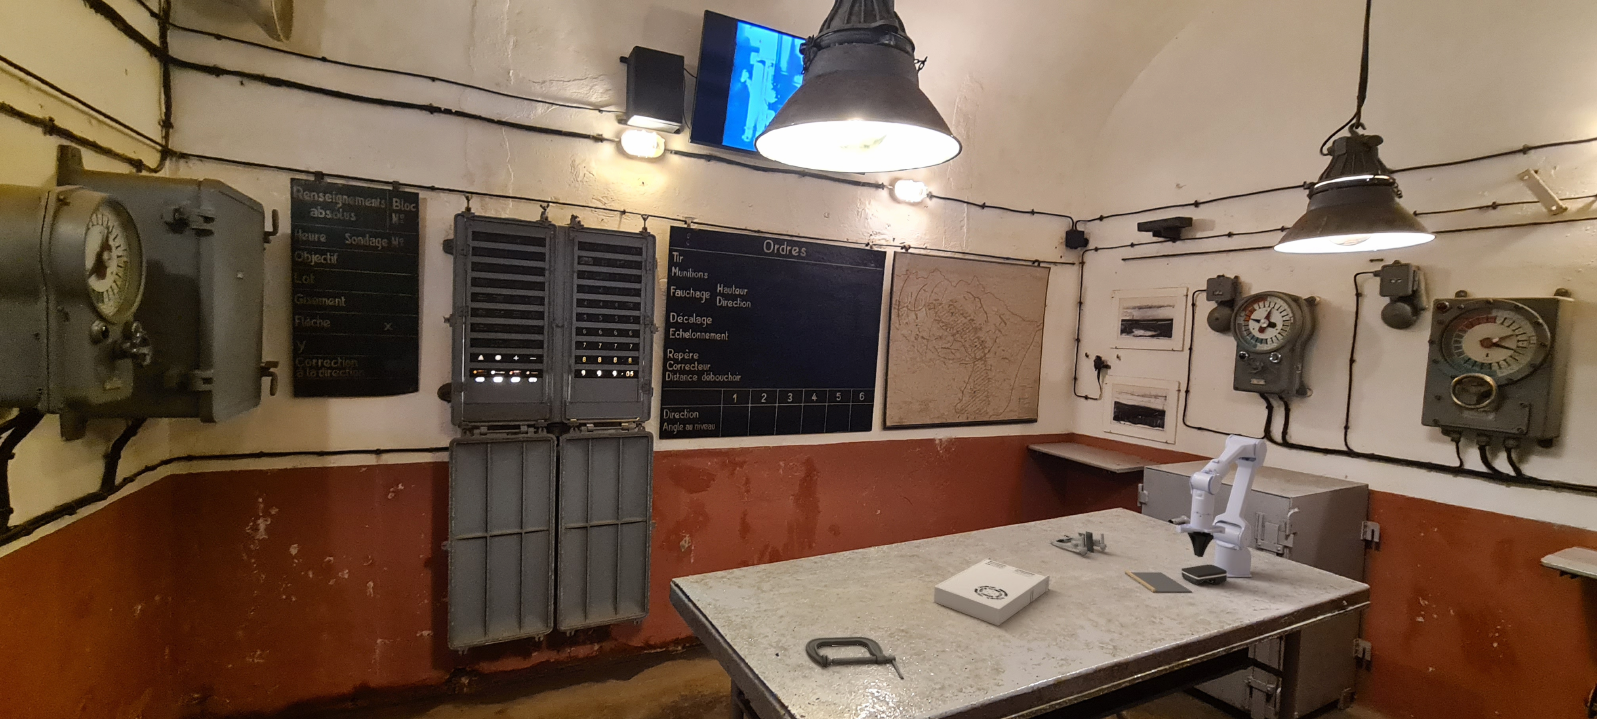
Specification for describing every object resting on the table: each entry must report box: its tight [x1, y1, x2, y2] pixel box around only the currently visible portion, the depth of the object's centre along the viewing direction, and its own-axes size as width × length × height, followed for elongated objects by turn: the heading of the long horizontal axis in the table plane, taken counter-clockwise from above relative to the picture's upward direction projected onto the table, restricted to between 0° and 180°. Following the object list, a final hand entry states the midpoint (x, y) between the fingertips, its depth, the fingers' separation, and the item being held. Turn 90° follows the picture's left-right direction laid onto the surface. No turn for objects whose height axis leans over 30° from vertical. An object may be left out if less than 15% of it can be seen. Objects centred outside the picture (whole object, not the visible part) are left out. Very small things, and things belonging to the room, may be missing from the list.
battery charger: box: [1180, 564, 1228, 585], centre depth 200 cm, size 7×4×11 cm
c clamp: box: [805, 636, 905, 680], centre depth 147 cm, size 20×17×3 cm
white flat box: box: [933, 557, 1051, 626], centre depth 184 cm, size 19×33×5 cm, turn 137°
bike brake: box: [1048, 531, 1108, 556], centre depth 227 cm, size 14×7×20 cm
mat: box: [1124, 570, 1193, 594], centre depth 197 cm, size 12×14×1 cm
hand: (1198, 555), depth 198 cm, fingers closed
